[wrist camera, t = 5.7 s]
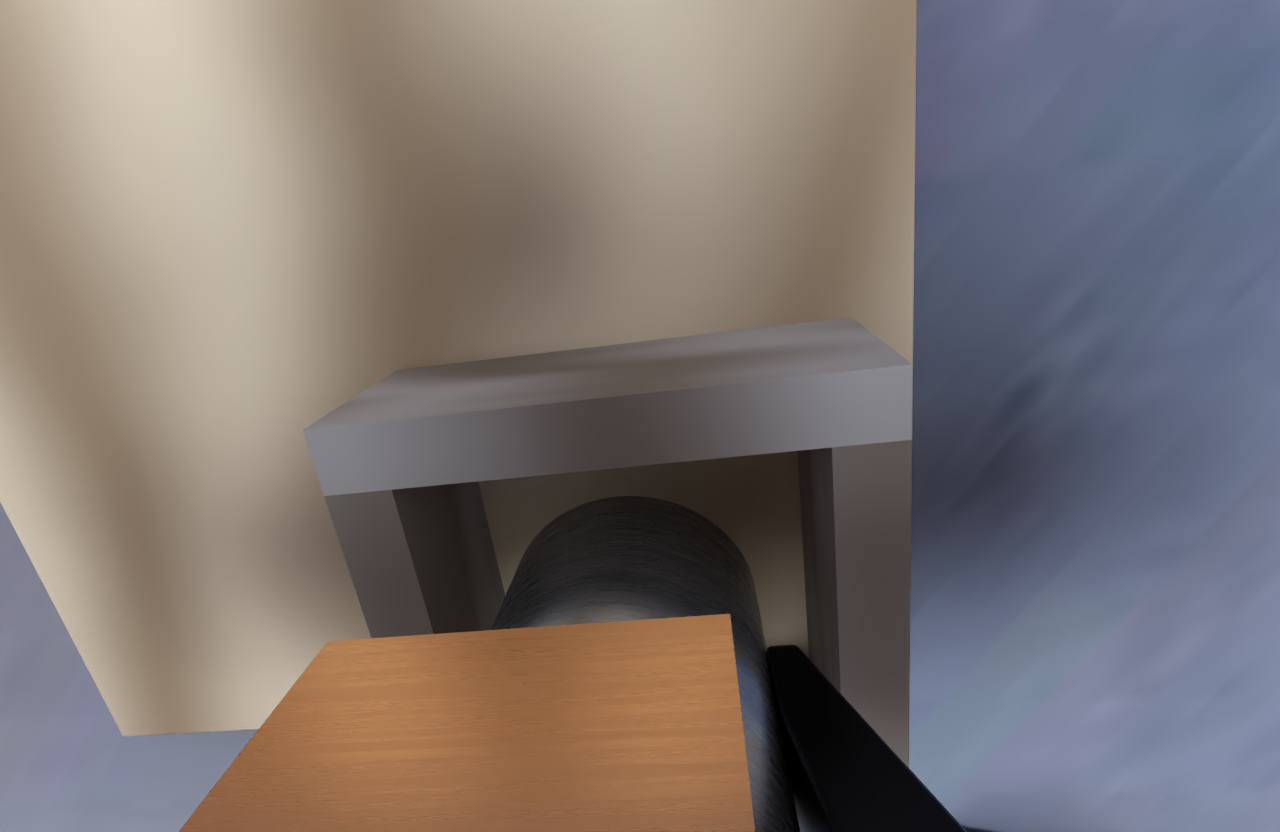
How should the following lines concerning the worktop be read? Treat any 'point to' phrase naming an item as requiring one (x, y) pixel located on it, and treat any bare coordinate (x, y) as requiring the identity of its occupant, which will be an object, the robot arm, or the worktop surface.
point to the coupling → (542, 703)
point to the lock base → (448, 319)
